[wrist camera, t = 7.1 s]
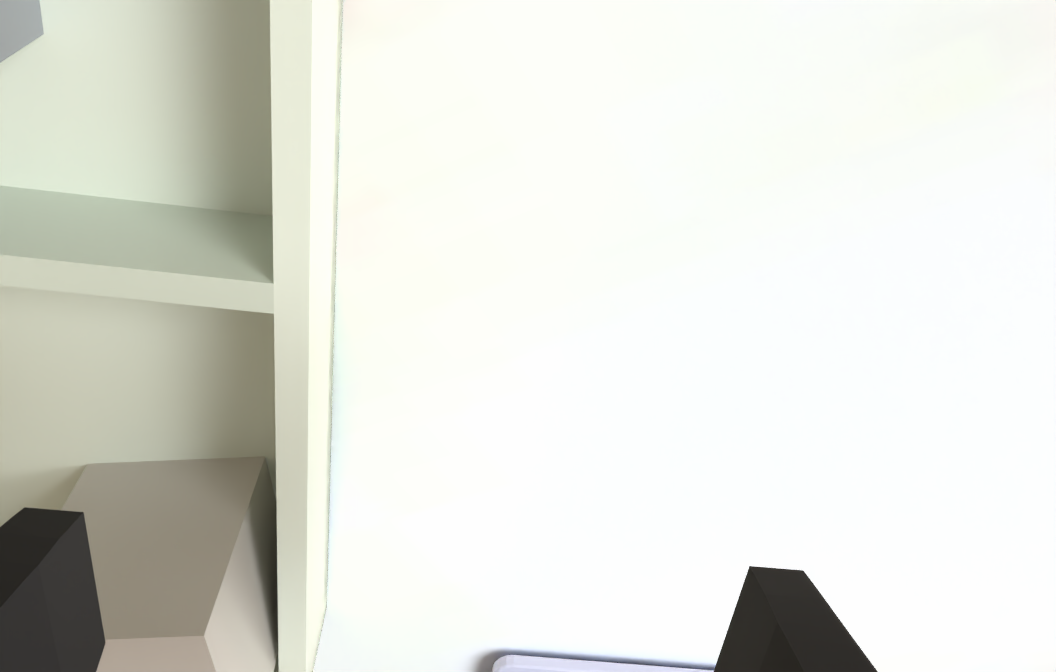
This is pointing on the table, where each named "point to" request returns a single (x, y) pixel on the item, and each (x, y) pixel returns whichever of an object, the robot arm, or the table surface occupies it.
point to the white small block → (183, 563)
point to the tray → (175, 257)
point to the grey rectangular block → (18, 25)
